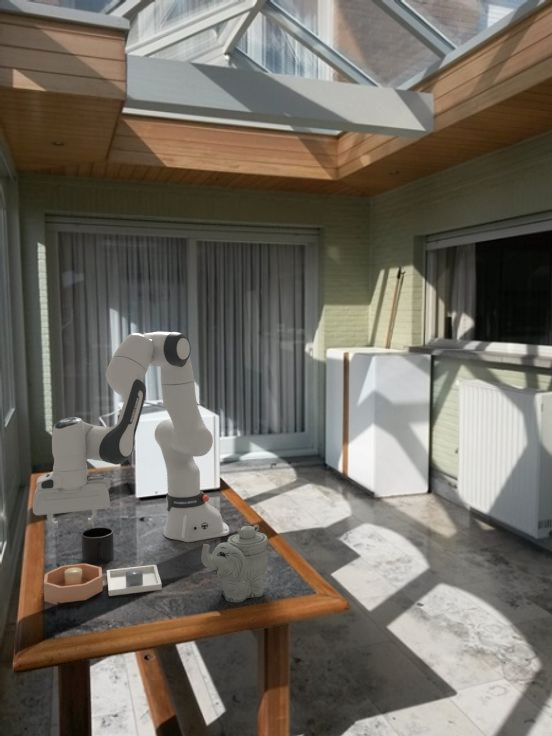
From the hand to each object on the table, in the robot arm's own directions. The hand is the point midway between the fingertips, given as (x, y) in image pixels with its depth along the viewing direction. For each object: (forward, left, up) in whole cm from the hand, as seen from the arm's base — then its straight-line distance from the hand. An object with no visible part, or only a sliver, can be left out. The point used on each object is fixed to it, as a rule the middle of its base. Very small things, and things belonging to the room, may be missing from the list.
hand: (73, 526), depth 179 cm
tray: (-16, +3, -18) cm, 24 cm away
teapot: (-42, +17, -18) cm, 49 cm away
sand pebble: (0, 0, -17) cm, 17 cm away
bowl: (0, +3, -18) cm, 18 cm away
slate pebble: (-16, +6, -17) cm, 24 cm away
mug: (-7, -17, -18) cm, 25 cm away
